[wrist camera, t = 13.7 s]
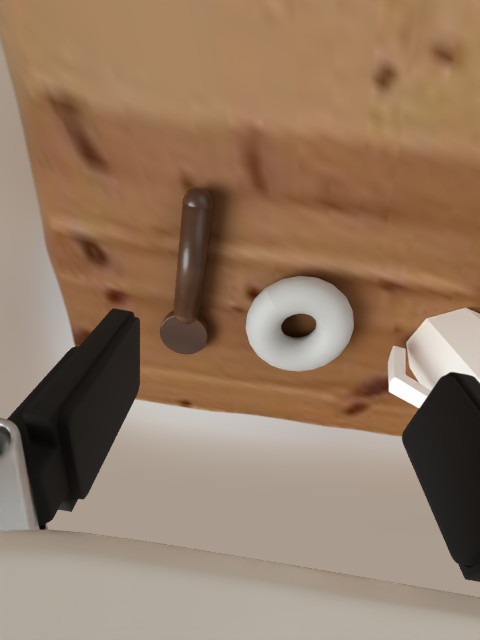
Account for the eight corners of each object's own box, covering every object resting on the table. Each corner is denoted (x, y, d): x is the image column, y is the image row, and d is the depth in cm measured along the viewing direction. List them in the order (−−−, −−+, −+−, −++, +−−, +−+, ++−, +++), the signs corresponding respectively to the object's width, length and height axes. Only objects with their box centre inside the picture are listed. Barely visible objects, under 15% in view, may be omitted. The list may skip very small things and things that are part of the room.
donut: (306, 370, 34) (372, 304, 30) (309, 393, 32) (383, 324, 27) (228, 327, 32) (285, 249, 27) (224, 348, 29) (288, 264, 24)
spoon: (172, 179, 25) (165, 183, 23) (232, 191, 25) (229, 197, 23) (161, 343, 33) (155, 357, 31) (206, 351, 34) (202, 365, 32)
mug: (509, 308, 29) (610, 380, 21) (474, 378, 34) (545, 461, 25) (377, 306, 30) (423, 375, 21) (360, 375, 34) (392, 455, 26)
